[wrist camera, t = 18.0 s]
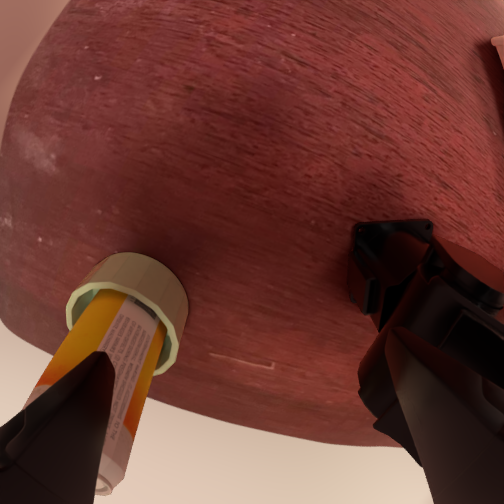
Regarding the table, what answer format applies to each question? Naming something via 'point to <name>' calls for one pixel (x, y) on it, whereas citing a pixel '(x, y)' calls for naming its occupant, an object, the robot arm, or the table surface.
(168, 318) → the can holder
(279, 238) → the table surface
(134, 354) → the beer can
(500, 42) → the white smoke grenade
